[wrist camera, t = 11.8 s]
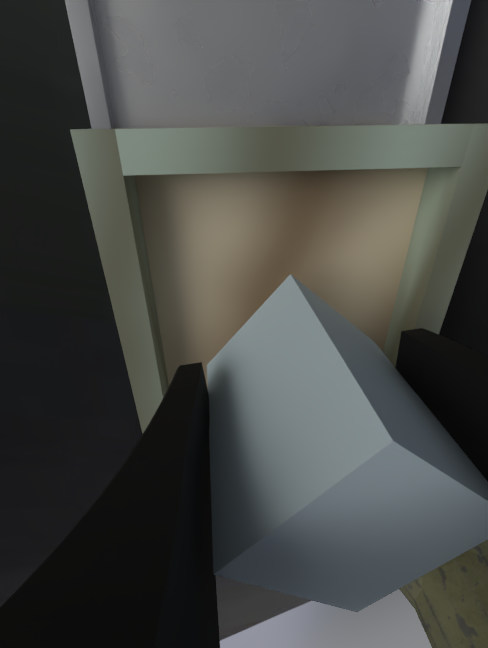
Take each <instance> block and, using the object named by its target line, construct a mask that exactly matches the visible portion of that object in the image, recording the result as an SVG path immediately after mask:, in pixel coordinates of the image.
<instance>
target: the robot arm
mask: <svg viewBox="0 0 488 648" xmlns="http://www.w3.org/2000/svg"><path fill="white" fill-rule="evenodd" d="M395 368H396V369H397V371H398V372H399V373H400V374H401V376H402V377H403V378H404V379H405V380H406V382H407V383H408V384H409V385H410V387H411V388H412V389H413V390H414V392H415V393H416V394H417V395H418V396H419V397H420V399H421V400H422V401H423V402H424V404H425V405H426V406H427V407H428V409H429V410H430V411H431V412H432V413H433V415H434V416H435V417H436V418H437V420H438V421H439V422H440V423H441V425H442V426H443V427H444V428H445V429H446V431H447V432H448V433H449V434H450V436H451V437H452V438H453V439H454V441H455V442H456V443H457V444H458V446H459V447H460V448H461V449H462V450H463V452H464V453H465V454H466V455H467V457H468V458H469V459H470V460H471V462H472V463H473V464H474V465H475V466H476V468H477V469H478V470H479V471H480V473H481V474H482V475H483V476H484V478H485V479H486V480H487V481H488V356H486V355H484V354H482V353H479V352H477V351H475V350H473V349H470V348H468V347H466V346H464V345H462V344H459V343H457V342H455V341H453V340H450V339H448V338H446V337H443V336H441V335H439V334H436V333H434V332H431V331H429V330H426V329H423V328H419V329H413V330H406V331H401V336H400V342H399V349H398V355H397V361H396V367H395ZM209 423H210V417H209V394H208V389H207V384H206V380H205V375H204V370H203V366H202V362H199V363H192V364H186V365H180V366H179V367H178V369H177V370H176V372H175V375H174V377H173V379H172V381H171V383H170V385H169V388H168V390H167V392H166V394H165V395H164V397H163V399H162V401H161V403H160V405H159V407H158V409H157V410H156V412H155V414H154V416H153V418H152V419H151V421H150V423H149V425H148V426H147V428H146V430H145V431H144V433H143V434H142V436H141V437H140V439H139V441H138V442H137V444H136V445H135V447H134V449H133V450H132V452H131V453H130V455H129V456H128V458H127V459H126V461H125V462H124V464H123V465H122V466H121V468H120V469H119V471H118V472H117V474H116V475H115V476H114V478H113V479H112V480H111V482H110V483H109V484H108V486H107V487H106V488H105V490H104V491H103V492H102V494H101V495H100V496H99V497H98V499H97V500H96V501H95V502H94V504H93V505H92V506H91V507H90V509H89V510H88V511H87V512H86V513H85V515H84V516H83V517H82V518H81V520H80V521H79V522H78V523H77V525H76V526H75V527H74V528H73V529H72V530H71V532H70V533H69V534H68V535H67V536H66V537H65V539H64V540H63V541H62V542H61V543H60V544H59V545H58V547H57V548H56V549H55V550H54V551H53V552H52V553H51V554H50V555H49V556H48V557H47V558H46V559H45V561H44V562H43V563H42V564H41V565H40V566H39V567H38V568H37V569H36V570H35V571H34V572H33V573H32V575H31V576H30V577H29V578H28V579H27V580H26V581H25V582H24V583H23V584H22V585H21V586H20V587H19V589H18V590H17V591H16V592H15V593H14V594H13V595H12V596H11V597H10V598H9V599H8V600H7V601H6V602H5V603H4V604H3V605H2V606H1V607H0V648H220V643H219V642H220V641H219V626H218V611H217V595H216V578H215V575H214V574H213V542H212V510H211V478H210V446H209Z"/></svg>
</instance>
